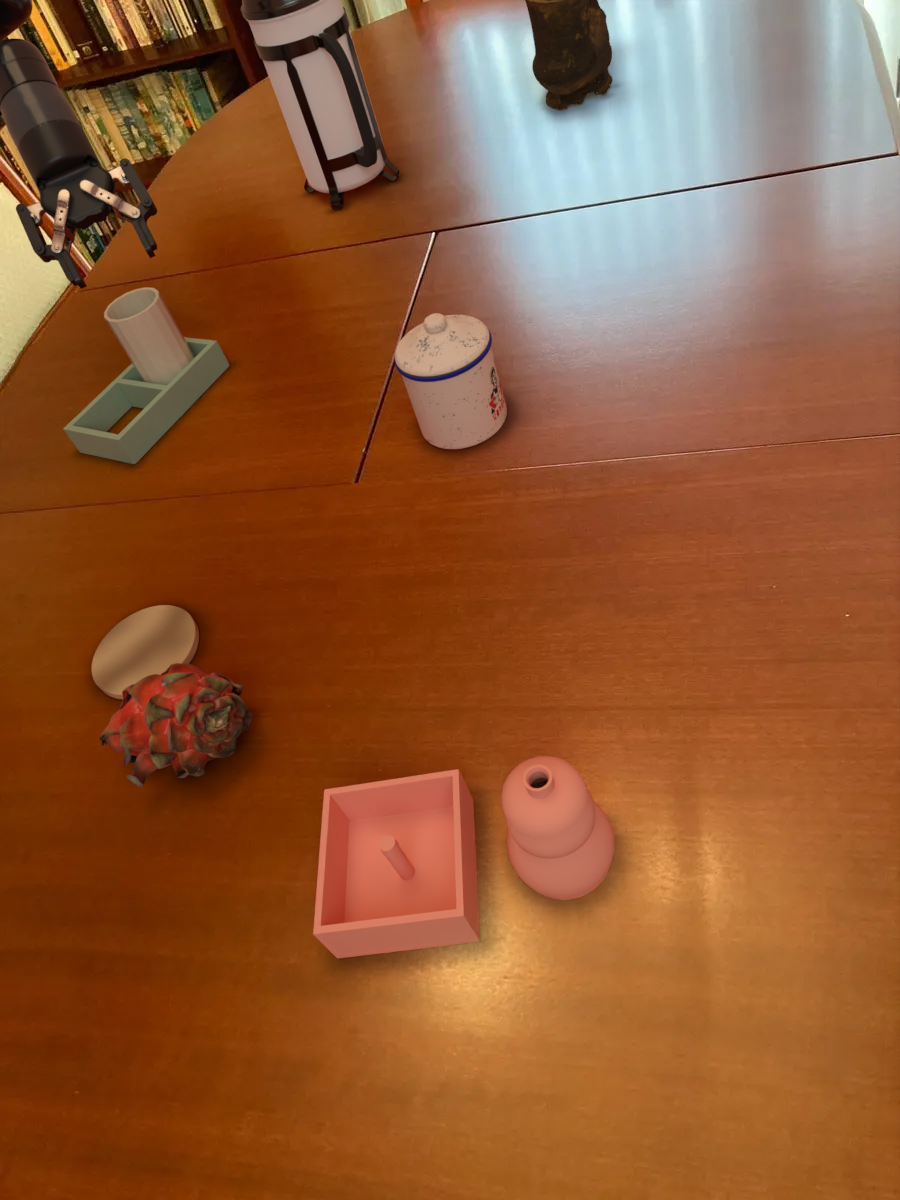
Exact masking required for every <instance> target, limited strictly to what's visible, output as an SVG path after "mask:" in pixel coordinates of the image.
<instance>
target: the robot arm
mask: <svg viewBox="0 0 900 1200" xmlns="http://www.w3.org/2000/svg"><path fill="white" fill-rule="evenodd" d="M32 12H33V0H0V113H1V115H2V117H3V120H4V123H5V126H6V128H7V131H8V133H9V135H10V138H11V139H12V141H13V144H14V145H15V147H16V150H17V151H18V153H19V155H20V157H21V160H22V161H23V164H24V165H25V167H26V168H27V171H28V173H29V175H30V177H31V178H32V181H33V182H34V184H35V187H36V188H37V190H38V193H39V201H38V202H35V203H32V204H30V205H26V204H24V203H18V204H17V205H16V207H15V211H16V213H17V216H18V219H19V220H20V223H21V225H22V227H23V229H24V232H25V235H26V237H27V239H28V241H29V243H30V246H31V248H32V250H33V252H34V254H36V255H37V256H38V258H39V259H40V260H41V261H42V262H44V263H46V264H47V263H50V262H51V261H57V262H58V264H59V266H60V268H61V270H62V271H63V273H64V275H65V278H66V279H67V280H68V282H69V283H71V284H72V286H74V287H76V286H78V287H79V289H81V290H83V289H85V288H87V287H88V286H87V283H86V281H85V279H84V277H83V276H82V273H81V272H80V271H81V270H79V268H78V266H77V263H76V261H75V259H74V258H73V257H72V256H71V252H72V251H71V249H72V245H73V244H74V242H75V238H76V234H77V230H81V231H84V230H86V229H88V228H90V227H91V226H92V225H94V224H97V223H103V222H104V221H107V220H108V217H109V215H112V216H114V217H116V218H118V219H120V220H122V221H126V222H128V223H130V224H132V227H133V228H134V231H135V233H136V234H137V236H138V239H139V240H140V242H141V245H142V246H143V248H144V250H145V252H146V254H147V256H148V257H149V259H152V258H154V257H156V253H155V251H157V250H158V244H157V241H156V240H155V238H154V236H153V234H152V232H151V230H150V228H149V226H148V220H149V219H150V218H151V217H154V216H156V215H157V214H158V208H157V206H156V205H155V203H154V200H153V199H152V197H151V195H150V194H149V192H148V190H147V188H146V187H145V185H144V182H143V181H142V180H141V177H139V175H138V173H137V171H136V170H135V168H134V166H133V164H132V162H131V161H130V159H128V158H125V157H124V158H121V159H120V160H119V165H118V166H117V167H114V168H112V169H110V170H109V171H108V170H107V169H105V168H104V167H103V166H102V164H101V161H100V160H99V157H98V156H97V154H96V152H95V150H94V147H93V146H92V144H91V142H90V141H89V138H88V136H87V134H86V133H85V130H84V128H83V125H82V123H81V121H80V120H79V118H78V116H77V114H76V112H75V110H74V108H73V107H72V106H71V105H70V102H69V101H68V99H67V98H66V97H65V95H64V94H63V92H62V89H61V88H60V85H59V84H58V82H57V80H56V78H55V76H54V75H53V72H52V70H51V69H50V66H49V64H48V62H47V61H46V58H45V57H44V55H43V53H42V52H41V50H40V49H39V48H38V47H37V46H36V45H35V44H34V43H32V42H30V41H29V40H27V39H22V38H7V37H9V36H10V35H11V34H12V33H14V32H15V31H16V30H17V29H19V28H21V27H22V26H23V25H24V24H25V23H26V22H27V21H28V20H29V19H30V18H31V16H32ZM116 183H119V184H122V186H123V187H126V188H130V187H132V189H133V191H134V193H135V195H136V196H137V198H138V200H139V202H140V203H138V204H137V205H136V206H134V205H132V204H130V203H128V202H127V201H125V200H123V199H122V198H121V197H119V196H117V195H116V194H115V188H116ZM45 214H47V215H48V216H49V217H52V218H54V220H53V225H52V229H53V233H52V234H53V235H52V240H51V244H48V243H47V242H46V241H47V240H45V239H46V238H45V237H44V234H43V232H42V230H41V228H40V227H42V226H43V224H44V219H43V218H44V217H43V216H44V215H45Z"/></svg>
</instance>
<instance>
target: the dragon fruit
mask: <svg viewBox="0 0 900 1200" xmlns="http://www.w3.org/2000/svg"><path fill="white" fill-rule="evenodd" d="M243 688H244V685H243V684H241V683H240V684H238V683H235V682H234V681H232V680H231V679H229V678H228V677H227V676H225V675H224V674H222V673H219V672H211V673H206V672H205V671H204V669H202V668H201V667H199V666H196V665H194V664H192V663H189V664H183V663H175V664H171V665H170V667H169V668H168V669H167V670H166V671H165V672H163V673H162V674H161V675H159V674H153V675H149V676H146V677H144V678H143V679H141V680H140V681H138V682H137V683H135V684H132V685H130V686H129V687H127V688H125V689H124V690H123V692H122V694H123V700H122V699H121V700H122V701H121V702H120V705H119V708H118V709H117V711H115V713H113V714H112V715H111V717H110V719H109V722H108V724H107V726H106V727H104V729H103V730H102V732H101V734H100V736H99V744H100V742H101V747H103V746H104V745H105V746H108V747H109V748H110V749H111V750H112V751H114V752H115V753H117V754H120V753H122V752H123V753H124V756H123V757H124V758H123V763H122V764H123V765H122V766H123V767H125V766H129V764H133V774H131V773H129V774H126V779H127V780H128V781H129V782H131V783H132V784H133V785H135V786H137V787H139V788H141V787H142V788H143V787H144V786H145V783H146V779H147V778H148V776H149V775H150V774H152V773H153V772H155V771H156V770H160V769H161V770H162V769H164V768H166V767H170V766H172V769H173V771H174V773H175V775H176V777H177V778H178V779H186V778H187V777H188V776H192V777H201V776H203V775H205V774H206V772H205V767H206V765H207V763H208V762H209V761H212V760H215V759H223V758H228V757H231V756H232V755H233V754H235V753H236V751H237V746H236V744H237V738H238V737H239V736H240V735H241V733H243V732H246V731H247V730H249V728H250V725H251V723H252V719H253V717H254V715H253V713H252V712H251V711H250V710H249V709H248V708H247V707H246V703H245V701H244V700H243V699H242V698H241V697H240V696H241V695H242V693H243ZM98 756H99V757H100V756H101V754H99V755H98Z"/></svg>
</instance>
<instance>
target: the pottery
mask: <svg viewBox="0 0 900 1200" xmlns="http://www.w3.org/2000/svg"><path fill="white" fill-rule="evenodd" d="M322 800H323V802H322V813H321V825H320V826H321V827H320V830H321V831H320V840H319V854H318V867H317V869H318V870H317V879H316V890H315V891H316V892H315V906H314V918H313V930H312V931H313V932H312V935H313V937H315V938H316V939H317V940H318V941H319V942H320V943H321V944H322V945H323V946H324V947H325V948H326V949H327V950H328V951H329V952H330V953H331V954H332V955H333V956H335V958H337V959H345V958H353V957H354V958H355V957H361V956H362V957H363V956H371V955H378V954H388V953H395V952H405V951H413V950H421V949H428V948H429V949H430V948H437V947H447V946H455V945H464V944H471V943H480V942H481V934H480V933H481V932H480V912H479V888H478V868H477V867H478V865H477V847H476V827H475V826H476V825H475V805H474V804H475V803H474V798H473V796H472V793H471V792H470V790H469V788H468V785H467V784H466V782H465V780H464V778H463V775H462V773H461V771H460V769H458V768H457V769H451V770H444V771H437V772H430V773H424V774H418V775H411V776H405V777H404V776H403V777H398V778H391V779H385V780H378V781H372V782H365V783H359V784H351V785H345V786H338V787H332V788H331V787H330V788H325V789H324V790H323V799H322ZM501 808H502V812H503V814H504V816H505V824H506V826H507V831H508V832H507V837H506V838H507V839H506V844H507V854H508V857H509V861H510V864H511V865H512V867H513V870H514V872H515V874H516V875H517V876H518V877H519V878H520V880H521V881H522V882H523V883H524V884H526V885H527V886H528V887H529V888H531V889H532V890H533V891H535V892H537V893H538V894H540V895H541V896H544V897H546V898H550V899H553V900H560V901H568V900H575V899H578V898H581V897H584V896H586V895H588V894H590V893H591V892H593V891H594V890H595V889H596V888H597V887H599V886H600V884H602V882H603V881H604V880H605V879H606V877H607V875H608V872H609V871H610V868H611V865H612V861H613V858H614V855H615V844H616V842H615V835H614V830H613V827H612V824H611V821H610V819H609V818H608V816H607V814H606V813H605V811H604V809H602V807H600V805H599V804H598V803H597V802H596V801H595V800H594V798H593V796H592V793H590V791H589V789H588V787H587V784H586V781H585V779H584V777H583V776H582V774H581V773H580V771H578V770H577V768H575V766H573V764H572V763H570V762H569V761H567V760H564V759H562V758H561V757H557V756H552V755H539V756H534V757H532V758H528V759H526V760H524V761H522V762H520V763H519V764H517V766H515V767H514V768H513V769H512V770H511V771H510V772H509V774H508V776H507V777H506V779H505V781H504V783H503V787H502V792H501Z"/></svg>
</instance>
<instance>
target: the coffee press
mask: <svg viewBox="0 0 900 1200" xmlns="http://www.w3.org/2000/svg"><path fill="white" fill-rule="evenodd" d="M241 4H242V5H241V6H240V12H241V15H242V17H243V19H245V21H247V23H248V25H249V27H250V30H251V32H252V35H253V43H254V46H255V48H256V51H257V54H258V57H259V59H260V60H262V63H263V65H264V68H265V70H266V71H265V72H266V73H267V77H268V79H269V82H270V84H271V87H272V89H273V92H274V94H275V98H276V100H277V103H278V107H279V109H280V111H281V113H282V116H283V119H284V122H285V124H286V127H287V129H288V132H289V136H290V138H291V140H292V141H291V142H292V143H293V145H294V146H293V147H294V149H295V151H296V153H297V156H298V159H299V162H300V165H301V167H302V170H303V172H304V175H305V181H304V185H303V186H304V187H303V189H304V191H305V192H306V193H308V194H313V193H314V192H315V191H317V192H320V193H324V194H328V195H329V205H330V208H331V210H333V211H336V210H343V209H344V195H345V192H348V191H352V190H355V189H357V188H359V187H362V186H364V185H366V184H367V183H369V182H371V181H372V180H374V179H375V178H376V177H378V176H380V177H383V178H385V179H386V180H388V181H389V182H396V181H397V180H398V178H399V176H400V169H399V168H398V167H397V166H396V165H395V164H394V163H393V162H392V161H391V160H390V159H389V157H388V155H387V152H386V148H385V145H384V142H383V138H382V135H381V131H380V127H379V123H378V121H377V117H376V113H375V111H374V108H373V104H372V100H371V97H370V93H369V90H368V87H367V83H366V80H365V76H364V74H363V70H362V67H361V63H360V60H359V57H358V53H357V51H356V47H355V43H354V40H353V37H352V33H351V30H350V25H351V24H350V21H349V17H348V13H347V11H346V8H345V7H344V6H343V3H342V0H241ZM386 166H387V168H388V169H390V170H391V172H393V173H394V175H392V174H391V173H390V172H388V171H386V170H383V169H384V168H385V167H386Z"/></svg>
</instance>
